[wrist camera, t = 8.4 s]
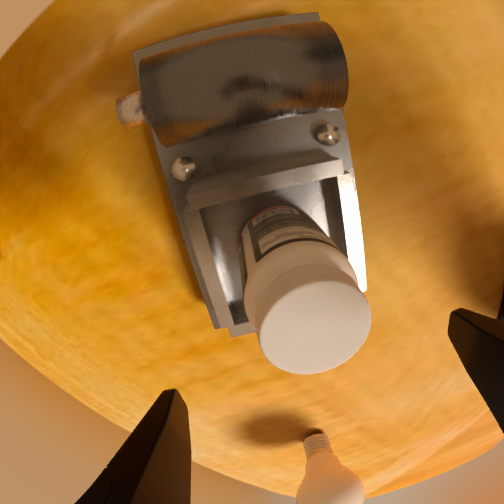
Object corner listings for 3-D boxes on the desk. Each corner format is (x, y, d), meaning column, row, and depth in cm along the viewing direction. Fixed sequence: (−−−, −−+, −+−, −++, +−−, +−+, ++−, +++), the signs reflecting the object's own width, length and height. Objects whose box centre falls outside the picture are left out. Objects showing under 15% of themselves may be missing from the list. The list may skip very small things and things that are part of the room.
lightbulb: (278, 429, 28) (295, 525, 18) (340, 410, 28) (373, 503, 18) (291, 456, 31) (308, 539, 21) (346, 440, 30) (373, 520, 20)
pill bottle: (293, 294, 19) (330, 395, 12) (222, 261, 18) (222, 361, 11) (335, 228, 18) (406, 304, 10) (264, 188, 17) (298, 246, 9)
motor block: (353, 273, 22) (395, 329, 16) (207, 310, 22) (202, 379, 16) (306, 24, 16) (345, -18, 9) (133, 63, 16) (89, 37, 9)
